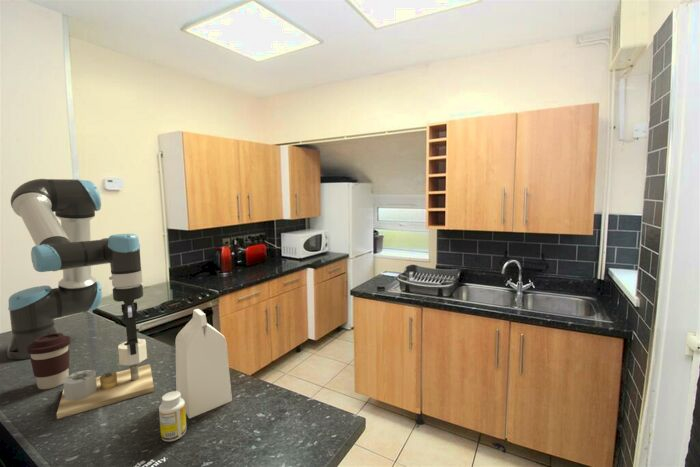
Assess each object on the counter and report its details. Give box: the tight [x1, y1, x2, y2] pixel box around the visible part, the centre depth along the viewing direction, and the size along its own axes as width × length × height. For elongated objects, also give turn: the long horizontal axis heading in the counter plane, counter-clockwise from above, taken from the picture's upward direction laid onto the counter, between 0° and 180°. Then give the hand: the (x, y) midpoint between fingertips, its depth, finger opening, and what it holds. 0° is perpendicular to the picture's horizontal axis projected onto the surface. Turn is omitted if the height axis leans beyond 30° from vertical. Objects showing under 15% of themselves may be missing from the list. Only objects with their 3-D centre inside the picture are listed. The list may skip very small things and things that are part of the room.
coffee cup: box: [27, 332, 71, 390], centre depth 103 cm, size 10×10×15 cm
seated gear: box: [62, 369, 97, 401], centre depth 96 cm, size 7×7×5 cm
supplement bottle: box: [158, 390, 187, 442], centre depth 81 cm, size 6×6×10 cm
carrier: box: [56, 363, 155, 420], centre depth 99 cm, size 16×22×7 cm
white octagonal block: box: [117, 338, 148, 366], centre depth 102 cm, size 7×7×5 cm
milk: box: [175, 308, 233, 419], centre depth 94 cm, size 12×12×26 cm
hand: (133, 358), depth 102 cm, fingers closed on white octagonal block, 7 cm apart
